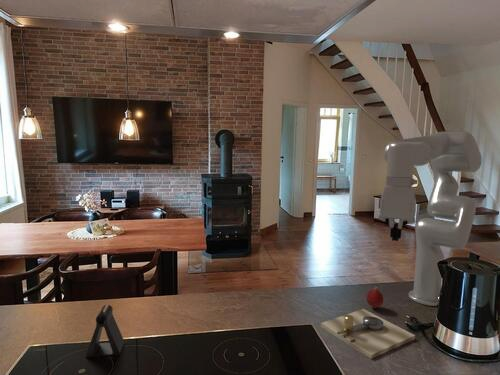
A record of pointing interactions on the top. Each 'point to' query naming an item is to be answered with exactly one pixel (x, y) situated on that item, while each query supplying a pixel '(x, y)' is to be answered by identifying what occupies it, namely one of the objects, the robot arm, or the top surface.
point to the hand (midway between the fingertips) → (395, 239)
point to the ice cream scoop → (368, 323)
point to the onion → (374, 298)
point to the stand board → (369, 334)
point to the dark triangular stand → (112, 333)
